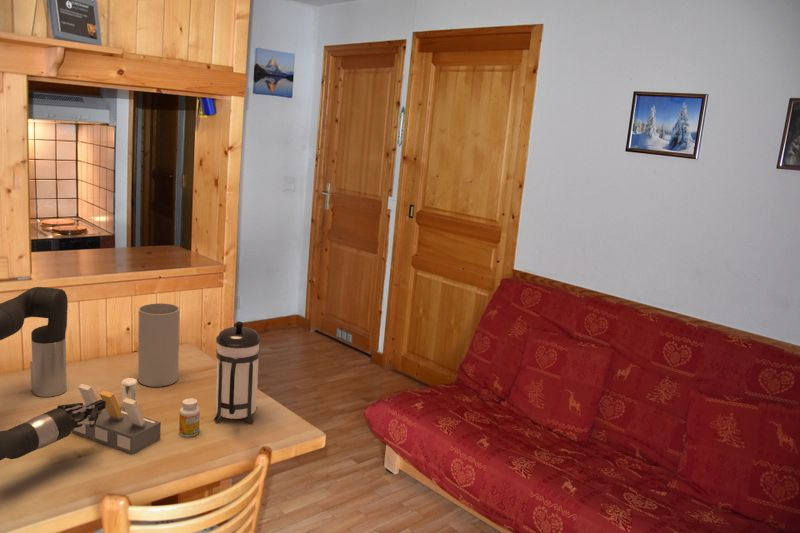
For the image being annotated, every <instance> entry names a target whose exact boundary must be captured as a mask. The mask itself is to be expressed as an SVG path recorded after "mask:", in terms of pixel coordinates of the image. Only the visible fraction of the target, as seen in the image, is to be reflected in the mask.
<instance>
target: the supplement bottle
mask: <svg viewBox="0 0 800 533" xmlns="http://www.w3.org/2000/svg"><path fill="white" fill-rule="evenodd" d="M181 405H182V407H180V409H179V422H178V423H179V425H178V426H179V428H178V429H179V435H180V436H182V437H184V438H185V437H186V438H191V437H196V436H197V435H198V434H199V433H200V417H201V416H200V415H201V414H200V410H201V409H200V408H199V406H198V400H197V399H196V398H192V397H191V398H185V399H183V400H182V404H181Z"/></svg>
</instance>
